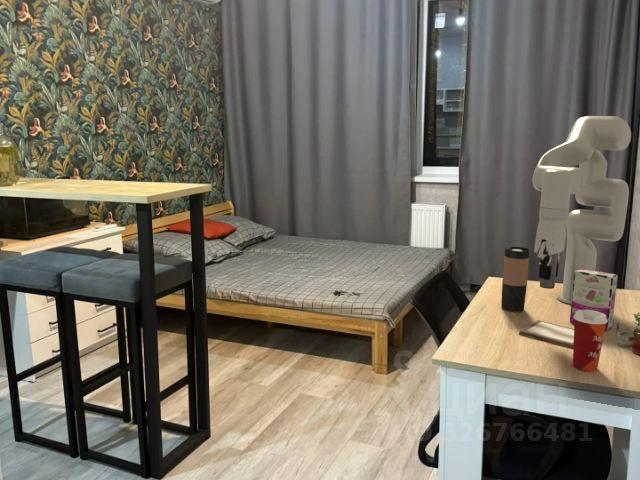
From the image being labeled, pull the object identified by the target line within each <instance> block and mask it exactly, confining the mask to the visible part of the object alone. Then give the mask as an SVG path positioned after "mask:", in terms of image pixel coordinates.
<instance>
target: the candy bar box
mask: <svg viewBox="0 0 640 480" xmlns="http://www.w3.org/2000/svg"><path fill="white" fill-rule="evenodd" d="M618 278H619V275H618V274H615V273H610V272H604V271H603V272H602V271H598V270H595V271H592V270H586V269H578V270H576V271H575V272H574V283H573V293H572V304H570V305H571V307H570V313H569V314H570V315H569V322H570V323H573V324H574V321H575V319H574V317H573V316H574V315H575V313H576V311H578V310H593V311H598V312H601V313H603V314H605V315H606V319H607V321H608V322H607V323H606V325H605V331H608V330H610V329H611V328H612V327H613V323H614V315H615V314H614V313H615V306H616V303H615V302H616V295H617V286H618Z"/></svg>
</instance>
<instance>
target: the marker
mask: <svg viewBox="0 0 640 480" xmlns="http://www.w3.org/2000/svg"><path fill="white" fill-rule="evenodd" d="M545 254H548V252H545ZM557 254H558V253H557ZM557 254H554V255H552V259H551V264H550V266H552V268H551V279H550V280H546V279H541V278H539V287H540V288H542V289H547V290H551V289H554V288H555V285H556V266H557ZM545 257H546V256H545ZM546 258H547V260H548V257H546Z"/></svg>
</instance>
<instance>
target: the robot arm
mask: <svg viewBox="0 0 640 480" xmlns="http://www.w3.org/2000/svg"><path fill="white" fill-rule="evenodd" d="M631 139H632V131H631V128H630V126H629V124H628V122H627V121H625V119H623V118H622V117H619V116H616V115H615V116H614V115H607V116H606V115H586V116H582V117H579V118H578V119H577V120H575V122H574V123H573V125H572V127H571V130H570V131H569V134H568V136H567V138H566V139H565V142H564V143H561V144H560V145H558V146H556V147H554V148H552V149H550V150H548V151H547V152H546V153H544V154H543V155H542V156H541V157H540V159H539V160H538V163H537V164H536V166H535V169H534V171H533V175H532V178H531V179H532V180H531V183H532V186H533V188H534V189H535V190H536V191H538V192H541V193H540V203H539V204H540V205H539V216H538V218H539V221H538V224H537V228H536V235H535V241H534V249H533V251H534V253H535V254H537V256H536V257H537V259H538V260H539V261H538V264H539V268H538V278H539V279H540V278H541V279H546V280H550V279H551V268H552V266H550V264H551V259H552V255H554V254H557V253H558V254H557V266H556V277H557V278H558V274H559V265H560V264H559V263H560V257H561V253H562V252H564V249H565V246H566V251H565V261H564V263H565V264H564V272H563V282H562V292H559V293H557V295H556V299H557V300H559V302H562V303H564V304H569V305H571V304H572V293H573V283H574V272H575V271H576V270H578V269H586V270H592V271H596V267H597V266H596V265H597V258H598V257H597V256H598V254H597V253H598V252H597V248H596V246H595V245H594V243H593V241H592V240H596V241H597V240H598V241H607V242H616V241H617V242H618V241H619V240H621V238H622V237H623V235H624V230H625V225H626V219H627V211H628V203H629V194H630V191H629V189H630V188H629V185H628V183H627V182H626V181H625V180H623V179H620V178H619V179H618V178H607V172H608V171H607V170H608V161H607V159H606V158H605V156H604V155H603V154H602V152H601V151H602V150H603V151H623V150H626V149H627V148H628V146H629V144H630V143H631ZM600 150H601V151H600ZM576 165H578V167H575V166H576ZM571 195H575V197H574V198H575V201H576V203H578V204H579V205H582V206H587V207H596V208H597V207H598V208H607V209H610V211H602V210H594V209H585V208H584V209H581V208H580V209H574V210H571V211H570V205H571V203H570V202H571ZM545 252H548V254H545ZM545 256H546V257H548V260H547V258H546V257H545ZM556 277H555V278H556Z"/></svg>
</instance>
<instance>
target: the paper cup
mask: <svg viewBox="0 0 640 480" xmlns="http://www.w3.org/2000/svg"><path fill="white" fill-rule="evenodd" d="M573 317H574V319H575V321H574V323H573V324H574V327H573V329H574V345H573V348H572V351H573V352H572V366H573V368H575V369H577V370H579V371H583V372H589V373H591V372H596V371H597V370H598V367H599V362H600V357H601V352H602V346H603V340H604V335H605V331H606V330H605V325H606V323H607V322H608V321H607V319H606V315H605V314H603V313H601V312H598V311H593V310H578V311H576V313H575V315H574V316H573Z"/></svg>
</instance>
